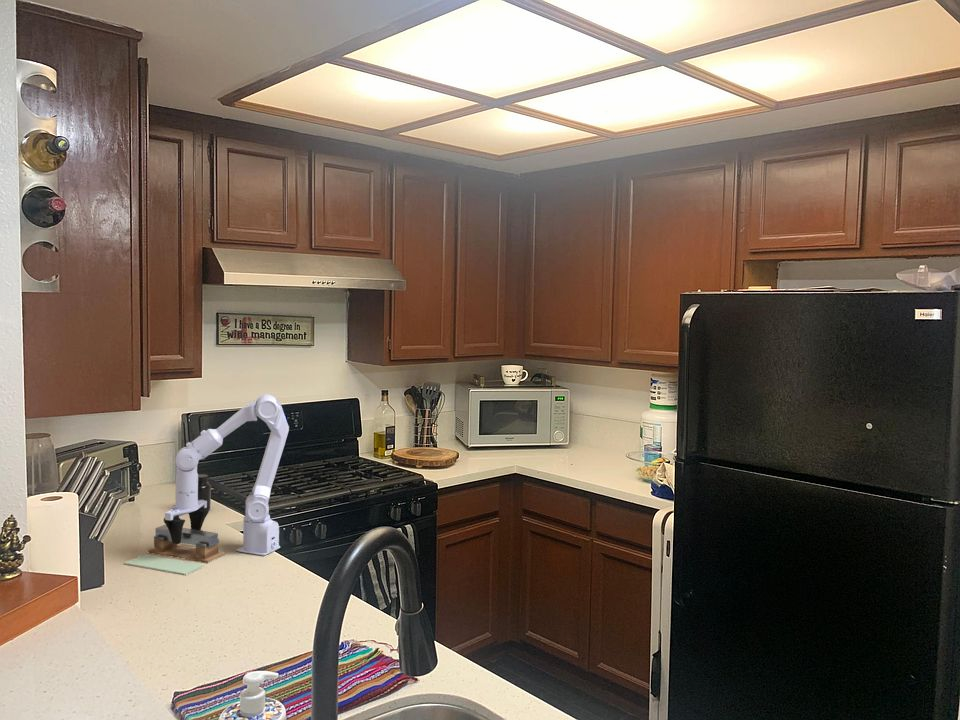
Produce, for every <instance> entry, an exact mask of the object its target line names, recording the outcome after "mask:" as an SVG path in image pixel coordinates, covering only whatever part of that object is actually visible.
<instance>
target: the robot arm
mask: <svg viewBox="0 0 960 720" xmlns="http://www.w3.org/2000/svg"><path fill="white" fill-rule="evenodd" d="M258 418H259V419H260V420H262V421H263V422H264V423H265V424H266V426H267V427H268V429H269V430H270V434H269V437H268V441H267V445H266V446H265V451H264V454H263V457H262V461H261V463H260V467H259V470H258V474H257V476H256V480H255V483H254V485H253V487H252V491H250V493H249V495H248V496H247V497H246V499H245V510H244V511H245V516H243V525H242V528H243V529H242V531H243V533H242V540H243V541H242V546H241V547H239V548H237V549H236V552H239V553H246V554H251V555H252V554H253V555H257V556H267V555H268V554H271V553H272V552H274V551H276V550H278V549H280V548H281V546H280V525H279V523H278V521H275V520H272V519H271V515H270V514H269V511H270V508H269V500H270V497H271V490H272V487H273V483H274V480H275V477H276V474H277V470H278V468H279V464H280V460H281V457H282V454H283V452H284V448H285V445H286V442H287V441H286V440H287V437H288V434H289V431H290V427H289V424H288V421H287V418H286V416H285V412H284V409H283V407H282V404H281V403H280V402H279V400H278V399H277V398H276V397H275V396H274V395H272V394H268V393H267V394H262V395H260V396H258V398H257V399H254V400H252V401H250V402H249V403H247V404H245V405H244V406H242V408H240V409H239V410H238V411H237V412H235V413H234V414H233V415H232V416H230V417H229V418H228V419H227V420H225V422H223V423H222V424H220V426H218V427H217V428H208V429H207V430H205V429H203V430H202V431H200V435H198V436H197V437H196V438H194V440H191V441H188V442H186V444H185V446H184V447H182V448H180V449H179V450H178V452H177V453H176V457H175V459H174V461H175V466H176V469H175V472H176V474H175V504H174V505H172V508H171V509H170V510H168V511H166V512H164V517H163V522H164V525H166V526H167V527H168V529H169V532H170V535H171V539H172V542H173V543H175V544H177V545H179V544H181V543H180V542H181V535H182V528H184V524H185V523H186V520H185V519H182V518H181V516H184V515H187V514H188V516H189V521H190V529H195V530H201V531H202V527H203V524H204V521H205V520H206V517H207V516H208V514H209V511H208V510H207V509H204V508H207V501H204V500H200V501H198V474H199V473H198V466H199V465H198V464H199V461H201V460H205V459H206V458H207V457H208V456H210V455H211V454H212V453H213V452H214V451H216V450H217V449H218V448H220V447H222V445H223V442H224V438H226V437H227V436H228V435H230V434H231V433H233V432H234V431H235V430H236V429H238V428H239V427H241V426H242V425H244V424H245V423H246V422H257V421H258Z"/></svg>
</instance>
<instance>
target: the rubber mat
mask: <svg viewBox="0 0 960 720" xmlns="http://www.w3.org/2000/svg"><path fill="white" fill-rule="evenodd" d="M123 564H124V565H126V564H127V566H131V565H133V567H137V566H138V567H139V568H142V567H144V568H143V569H148V568H149V570H153V569H155V570H154V571H159V570H161V571H160V572H165V571H167V572H166V573H170V572H173V573H172V574H176V573H180V574H179V575H181V574H185V575H184V576H187V575H186V574H188V575H190V574H192V573H194V572H196V571H199V570H200V568H201V569H203V568H205V567H204V566H205V565H204V564H200V563H194V562H189V561H182V560H177V559H172V558H171V559H170V558H165V557H158V556H154V555H148V554H142V555H140V556H136V557H134V558H132V559H130V560H127V561H125V562H123ZM138 567H137V568H138ZM202 567H203V568H202ZM198 569H199V570H198ZM195 570H196V571H195ZM193 571H194V572H193ZM191 572H192V573H191ZM189 573H190V574H189Z"/></svg>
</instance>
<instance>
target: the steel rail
mask: <svg viewBox="0 0 960 720" xmlns="http://www.w3.org/2000/svg"><path fill="white" fill-rule="evenodd" d="M154 529H155V535H154V536H159V537H164V540H166V541H172V539H171V535H170V532H169V529H168V527H167V526H166V524H163V525H160V526H158V527H156V528H154ZM218 539H219V533H218V532H215V531H214V532H213V531H207V530H202V529H201V530H195V529H191V528H188V527H183V528H182V535H181V542H180V544H185V545H191V546H196V543H202V544H206V547H212V546H214V545H216V544H218Z"/></svg>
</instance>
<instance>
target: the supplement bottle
mask: <svg viewBox="0 0 960 720" xmlns="http://www.w3.org/2000/svg"><path fill="white" fill-rule="evenodd" d="M211 495H212V485H211V484H210V482H209V475H208V474H204V473H203V474H202V473H201V474H199V473H198V501H200V500H204V501H207V508H204V509H207V510H208V512H210V510H211V500H212V499H211V497H212V496H211Z"/></svg>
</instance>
